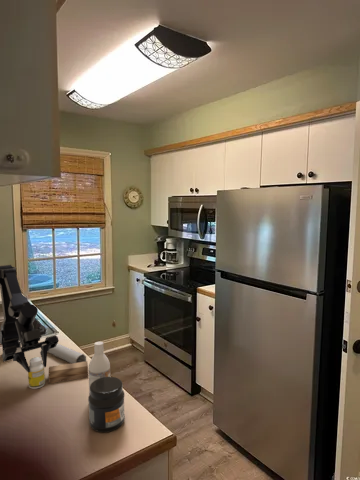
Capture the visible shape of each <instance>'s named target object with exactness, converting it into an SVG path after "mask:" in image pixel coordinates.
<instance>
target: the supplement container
mask: <svg viewBox="0 0 360 480" xmlns="http://www.w3.org/2000/svg"><path fill="white" fill-rule="evenodd" d="M123 385H124V384H123V381H122V379H120V378H119V377H116V376H115V377H114V376H110V377H103V378H99V379H97V380H95V381H94V382H93V383H92V384H91V385H90V395H88V399H87V400H88V417H89V419H88V423H89V427H90V428H91V429H92V430H93V431H96V432H99V433H108V432H109V433H110V432H112V431H115V430H117V429H118V428H120V427H121V426H122V425H123V423H124V421H125V419H126V418H125V392H124V388H123Z"/></svg>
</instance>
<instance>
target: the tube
mask: <svg viewBox="0 0 360 480" xmlns="http://www.w3.org/2000/svg"><path fill="white" fill-rule="evenodd" d="M47 354H51V355H52V356H54V357H57V358H59V359H61V360H63V361H65V362H68V364H72V363H79V362H86V361H87V356H86V355H85V354H84V353H81V352H78V351H76V350H74V349H73V348H69V347H67V346H65V345H63V344H60V343H59V342H58V343H57V345H56V347H54V348H51V349H49V351H48V352H47Z"/></svg>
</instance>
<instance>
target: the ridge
mask: <svg viewBox="0 0 360 480" xmlns="http://www.w3.org/2000/svg"><path fill="white" fill-rule="evenodd" d="M86 378H89V363H88V361H87V360H86V362H79V363H72V364H71V363H67V364H66V363H65V364H59V365H58V364H57V365H53V366H49V367H48V384H53V383H60V382H65V381H72V380H79V379H80V380H81V379H86Z"/></svg>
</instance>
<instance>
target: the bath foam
mask: <svg viewBox="0 0 360 480" xmlns="http://www.w3.org/2000/svg"><path fill="white" fill-rule="evenodd" d="M93 345H94V349H93V350H94V351H93V352H94V354H93V356H92V357H91V359H90V361H89V363H88V393H89V395H90V385H91V384H92V383H93V382H94V381H95V380H97V379H99V378H103V377H111V363H110V360H109V358H108V357H107V355H106V354H105V351H104V341H96V342H94V344H93ZM89 395H88V396H89Z"/></svg>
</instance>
